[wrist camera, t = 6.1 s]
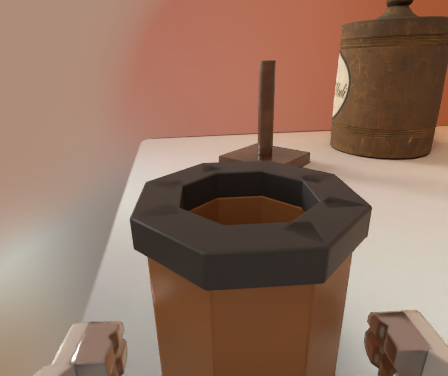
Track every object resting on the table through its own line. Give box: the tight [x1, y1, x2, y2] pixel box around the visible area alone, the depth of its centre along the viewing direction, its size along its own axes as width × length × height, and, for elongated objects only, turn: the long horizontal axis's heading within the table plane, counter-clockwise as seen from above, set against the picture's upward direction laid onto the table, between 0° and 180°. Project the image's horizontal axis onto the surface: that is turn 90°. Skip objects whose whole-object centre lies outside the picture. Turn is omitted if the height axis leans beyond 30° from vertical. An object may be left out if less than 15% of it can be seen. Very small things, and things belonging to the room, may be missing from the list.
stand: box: [219, 60, 310, 167], centre depth 43 cm, size 9×9×14 cm
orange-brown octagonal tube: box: [130, 161, 372, 376], centre depth 12 cm, size 7×7×10 cm
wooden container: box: [330, 0, 448, 159], centre depth 49 cm, size 15×15×22 cm
